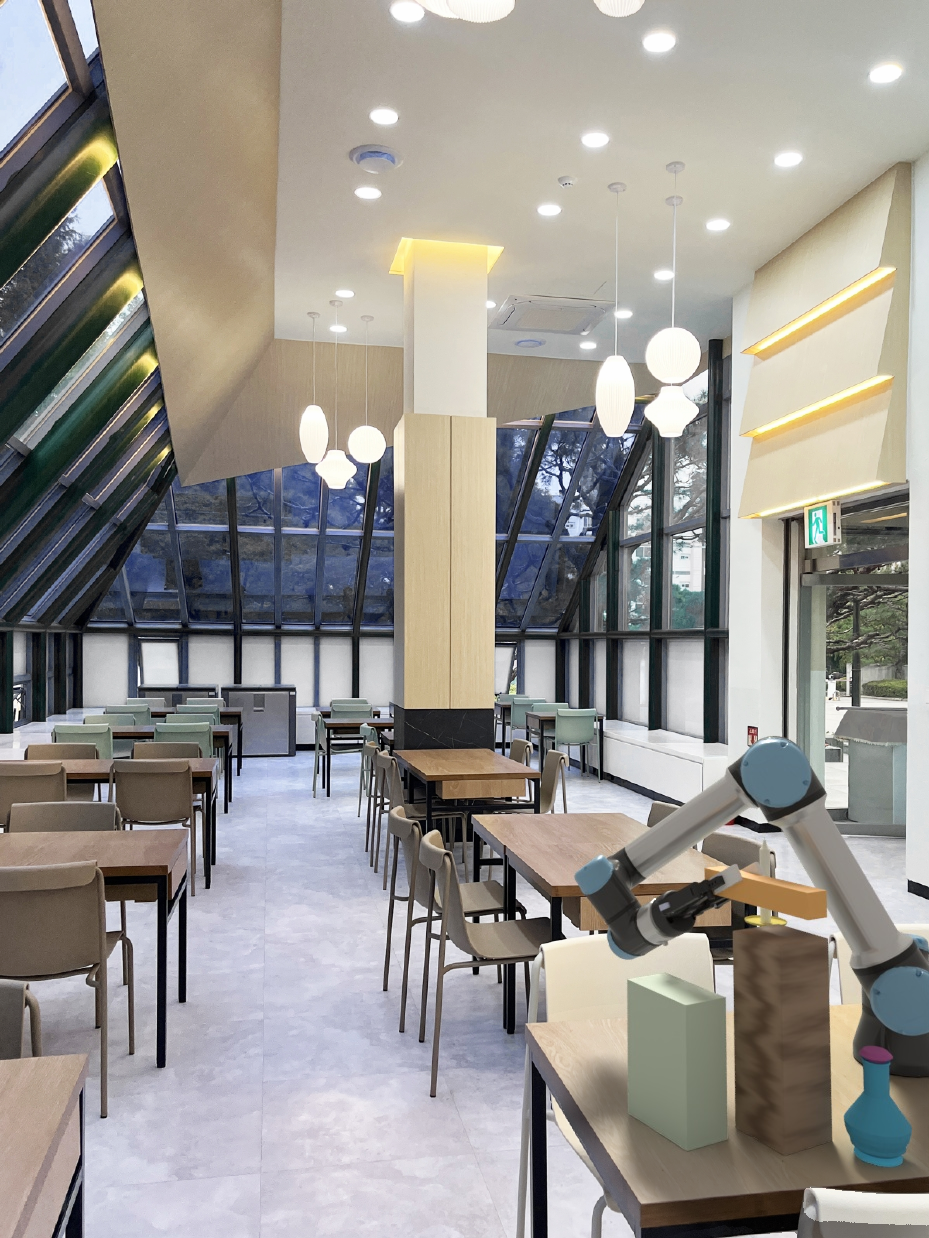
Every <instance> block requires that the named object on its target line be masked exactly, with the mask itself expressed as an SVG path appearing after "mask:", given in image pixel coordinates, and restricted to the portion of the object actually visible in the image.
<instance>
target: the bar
mask: <svg viewBox="0 0 929 1238" xmlns="http://www.w3.org/2000/svg"><path fill="white" fill-rule="evenodd" d="M728 867H729V866H725V865H719V866H710V867H704V880H708V881H709V880H710V879H709V878H711V877H713V876H714V875H716V874H718V873H719V872H721V871H723V870H725V869H726V868H728ZM739 870H740V873H741V875H742V878H743V880H742V881H741V882H739V883H737V884H735V885H734V886H732V887H730V888H728V889H726V890H725V891H723V892H721V893H719V894H715V892H714V891H713V894H714V895H718V896H722V897H725V898H729V899H732V900H731V901H736V902H740V903H744V904H748V905H751V906H754V907H758V908H760V907H762V908H765V909H769V910H771V912H772V911H773V912H776V913H779V914H782V915H783V914H784V915H787V916H792V917H796V918H799V919H802V920H805V921H812V920H813V921H815V920H820V919H825V918H828V909H827V892H826V890H823V889H819V888H815V886H811V885H810V886H809V885H807V884H805V885H804V884H801V883H797V882H792V881H788V880H784V879H779V878H776V877H771V876H770V877H767V876H763V875H759V874H755V873H750V872H746V871H742V869H739Z"/></svg>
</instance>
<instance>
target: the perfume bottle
mask: <svg viewBox="0 0 929 1238" xmlns="http://www.w3.org/2000/svg"><path fill="white" fill-rule="evenodd" d="M859 1054H860V1055H861V1056H862V1061H863V1064H862V1078H863V1079H862V1081H863V1083H862V1084H863V1091H862V1092H861V1093H860V1095H859V1096H858V1097H857V1099H856V1100H855V1101H854V1102H853V1103H852V1104H851V1105H850V1106H849V1108H848V1109H847V1110H846V1111H845V1112H844V1115H843V1121H844V1126H845V1130H846V1132H847V1134H848V1136H849V1141H850V1143H851V1145H853V1153H854V1155H855V1156H856V1157H857V1158H858V1159H859V1160H860V1161H863V1162H865V1163H868V1164H869V1163H872V1164H874V1165H873V1166H876V1165H877V1166H878V1167H882V1166H883V1168H894V1167H898V1166H900V1165H902V1164H903V1161H904V1157H903V1155H905V1153H907V1147H908V1145H909V1144H910V1142H911V1139H912V1138H911V1137H912V1133H913V1132H912V1131H913V1127H912V1125H911V1123H910V1122H909V1120H908V1119H907V1117H906V1116H905V1115H904V1113H903V1112H902V1111H901V1109H900V1108H899V1107H898V1105H897V1103H896V1102H895V1101H894V1099H893V1098H892V1096H891V1093H890V1073H889V1065H890V1060H891V1059H893V1056H892V1055H891V1054H890V1053H889V1052H888V1051H887V1050H886V1049H884V1048H881V1047H877V1046H865V1047H863V1048H862V1049H861V1050H860V1051H859ZM901 1163H902V1164H901ZM872 1164H871V1165H872Z"/></svg>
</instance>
